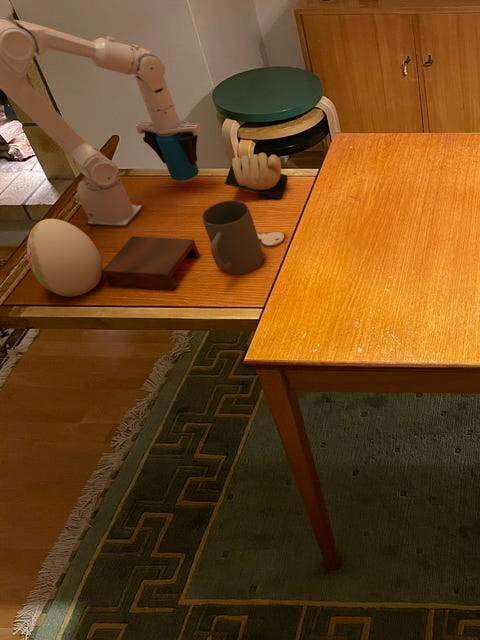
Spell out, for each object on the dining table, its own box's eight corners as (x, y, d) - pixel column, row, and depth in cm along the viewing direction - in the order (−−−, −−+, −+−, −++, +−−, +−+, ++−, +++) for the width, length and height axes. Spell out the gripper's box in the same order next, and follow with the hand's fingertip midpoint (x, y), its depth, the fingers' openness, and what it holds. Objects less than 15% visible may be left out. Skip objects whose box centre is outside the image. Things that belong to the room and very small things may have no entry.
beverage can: (203, 169, 173) (187, 122, 164) (194, 183, 168) (177, 135, 160) (177, 170, 173) (160, 123, 165) (167, 184, 169) (149, 136, 160)
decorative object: (292, 148, 168) (286, 172, 161) (285, 184, 175) (279, 208, 168) (236, 133, 164) (227, 156, 158) (231, 170, 171) (223, 194, 164)
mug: (229, 248, 152) (211, 199, 144) (270, 249, 151) (255, 200, 143) (204, 288, 143) (184, 238, 134) (248, 289, 142) (230, 239, 133)
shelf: (110, 286, 145) (101, 270, 142) (139, 251, 153) (131, 236, 150) (174, 290, 143) (167, 274, 140) (199, 255, 151) (193, 239, 148)
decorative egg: (61, 267, 150) (26, 205, 140) (119, 265, 150) (88, 202, 140) (36, 304, 141) (-3, 241, 131) (97, 302, 141) (62, 238, 131)
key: (288, 233, 154) (274, 246, 151) (288, 235, 155) (275, 247, 151) (247, 224, 158) (233, 237, 155) (247, 225, 158) (233, 238, 155)
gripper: (198, 98, 160) (216, 154, 170) (139, 97, 162) (160, 152, 172) (184, 112, 155) (203, 169, 165) (123, 111, 157) (145, 167, 167)
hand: (180, 161), depth 168 cm, fingers closed on beverage can, 6 cm apart
